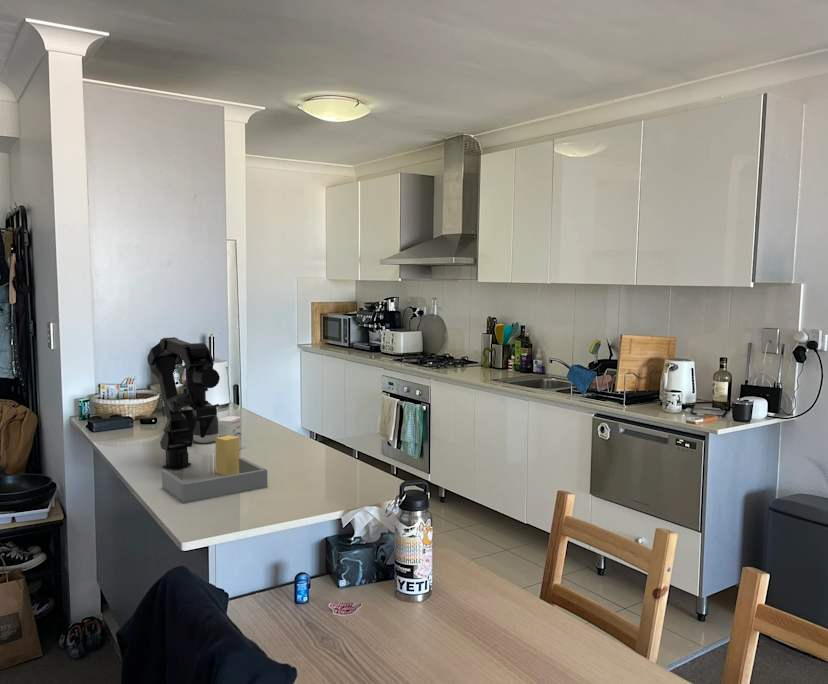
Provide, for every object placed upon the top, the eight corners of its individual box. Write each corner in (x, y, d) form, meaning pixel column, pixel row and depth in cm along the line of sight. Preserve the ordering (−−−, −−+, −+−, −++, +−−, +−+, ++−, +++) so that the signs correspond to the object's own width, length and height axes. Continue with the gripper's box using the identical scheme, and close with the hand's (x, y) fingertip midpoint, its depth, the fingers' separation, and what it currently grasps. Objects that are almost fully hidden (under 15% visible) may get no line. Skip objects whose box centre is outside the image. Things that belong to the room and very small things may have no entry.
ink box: (231, 454, 241) (230, 420, 240) (218, 453, 242) (217, 420, 241) (242, 448, 249) (241, 416, 248) (229, 447, 250) (228, 415, 249)
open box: (162, 491, 198) (161, 470, 198) (242, 476, 213) (242, 457, 212) (183, 506, 185) (182, 484, 184) (267, 490, 199) (267, 469, 199)
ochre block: (216, 476, 214) (215, 437, 213) (229, 472, 218) (228, 435, 217) (226, 479, 211) (225, 440, 210) (239, 475, 215) (239, 437, 214)
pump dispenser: (215, 445, 254) (214, 404, 252) (187, 444, 254) (186, 404, 253) (224, 438, 264) (223, 399, 263) (196, 438, 264) (195, 399, 263)
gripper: (158, 383, 213) (160, 432, 215) (179, 390, 199) (181, 444, 200) (194, 380, 220) (195, 428, 221) (217, 387, 205) (218, 439, 207)
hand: (196, 434), depth 212 cm, fingers open, 9 cm apart
